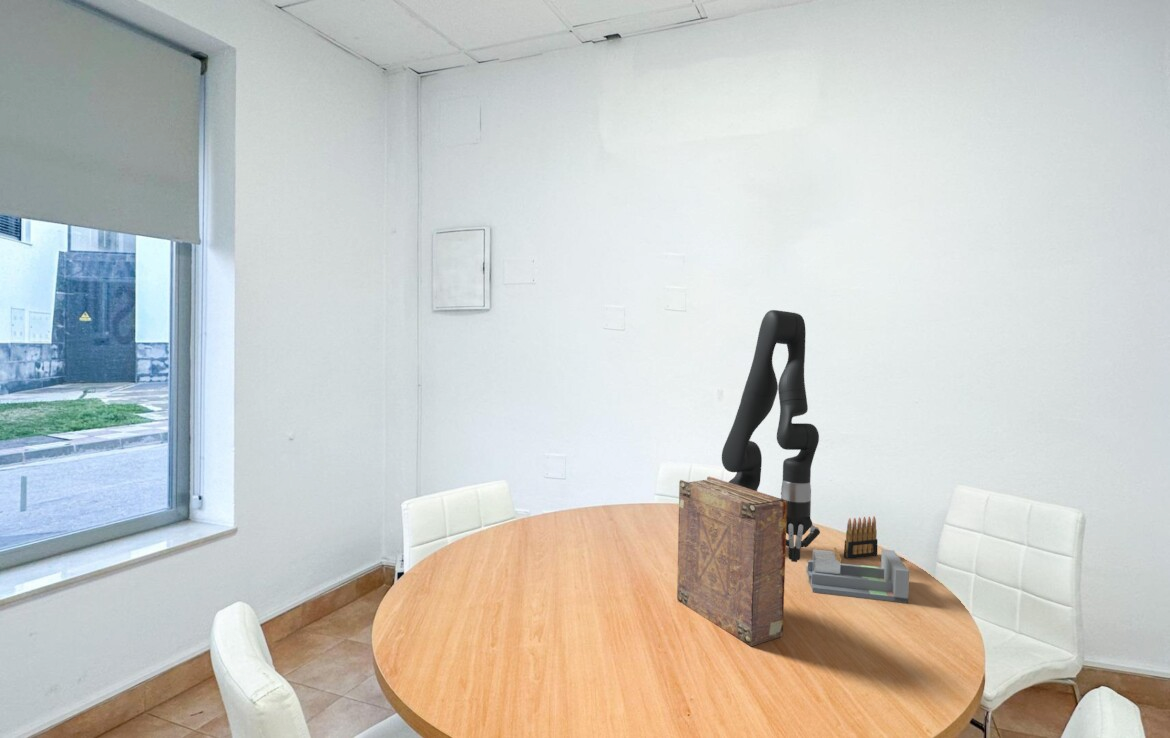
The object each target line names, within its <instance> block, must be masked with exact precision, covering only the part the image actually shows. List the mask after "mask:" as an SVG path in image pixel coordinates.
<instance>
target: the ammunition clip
mask: <svg viewBox="0 0 1170 738" xmlns="http://www.w3.org/2000/svg"><path fill="white" fill-rule="evenodd" d="M871 519H872V520H871ZM877 535H878V534H877V520H876V516H874V515H873V517H872V518H871V516H868V518H866V517H865V516H863V518H862V519H861V517H858V520H857V518H856V517H853V520H851V518H848V520H847V526H846V533H845V540H844V549H843V550H844V551H843V557H844V558H845V559H847V560H853V559H861V558H863V559H864V558H872V557H878V539H877Z"/></svg>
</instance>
